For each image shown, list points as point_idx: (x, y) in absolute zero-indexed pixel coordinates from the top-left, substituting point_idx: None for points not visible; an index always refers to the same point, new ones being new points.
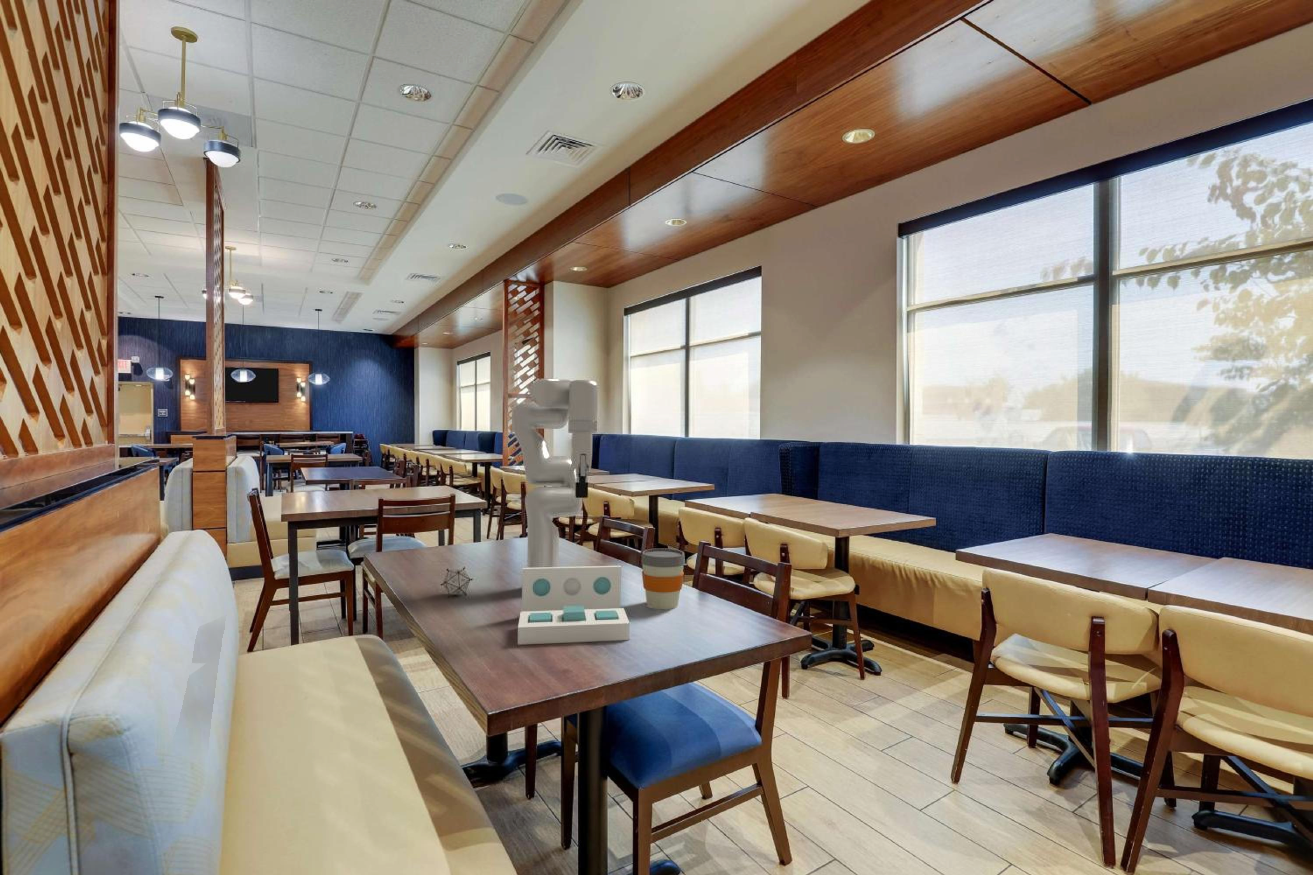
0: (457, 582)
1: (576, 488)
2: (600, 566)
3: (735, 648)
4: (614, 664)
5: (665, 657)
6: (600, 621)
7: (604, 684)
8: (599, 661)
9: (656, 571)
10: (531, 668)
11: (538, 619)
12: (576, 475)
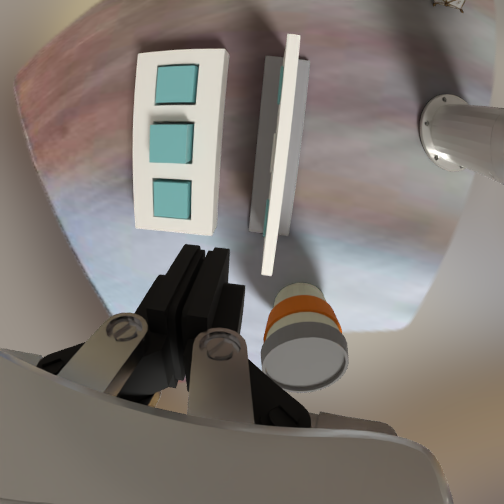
0: None
1: (166, 281)
2: (274, 231)
3: None
4: (75, 187)
5: (92, 247)
6: (146, 185)
7: (38, 172)
8: (82, 170)
9: (272, 330)
10: (74, 90)
11: (157, 81)
12: (240, 384)
